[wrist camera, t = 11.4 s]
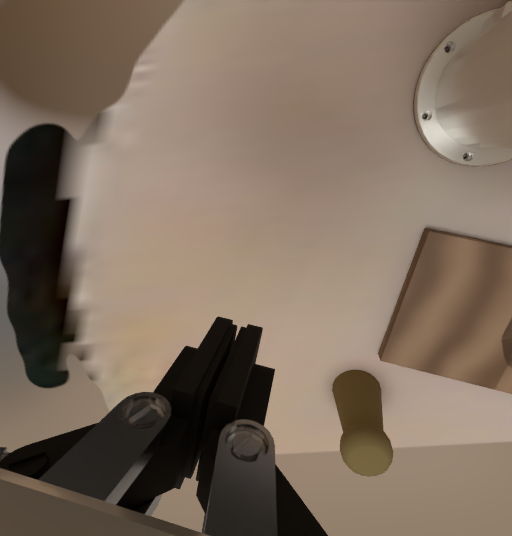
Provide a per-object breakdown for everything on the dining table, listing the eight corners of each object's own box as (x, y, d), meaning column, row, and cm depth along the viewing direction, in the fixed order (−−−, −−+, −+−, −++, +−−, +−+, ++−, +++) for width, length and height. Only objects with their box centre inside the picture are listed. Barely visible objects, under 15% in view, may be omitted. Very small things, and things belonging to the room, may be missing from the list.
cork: (390, 384, 42) (414, 459, 31) (363, 416, 44) (377, 495, 34) (348, 362, 42) (357, 429, 31) (323, 394, 44) (325, 467, 34)
